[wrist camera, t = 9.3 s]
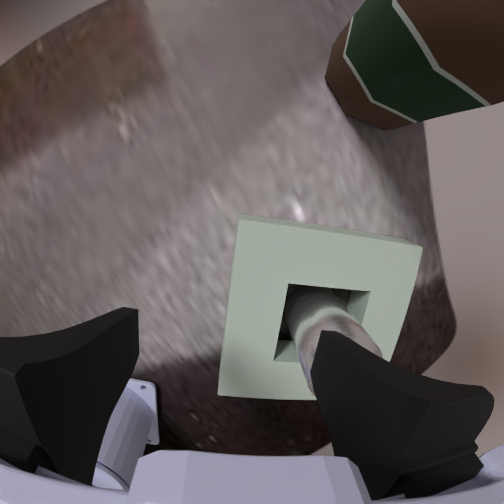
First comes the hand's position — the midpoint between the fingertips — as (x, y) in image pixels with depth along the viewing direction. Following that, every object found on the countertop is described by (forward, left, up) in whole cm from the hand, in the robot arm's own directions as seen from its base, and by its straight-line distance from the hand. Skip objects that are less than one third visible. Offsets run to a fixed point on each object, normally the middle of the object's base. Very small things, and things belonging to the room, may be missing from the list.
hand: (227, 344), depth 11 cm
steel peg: (+6, -2, -9) cm, 11 cm away
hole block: (+6, -2, -9) cm, 11 cm away
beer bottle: (+8, +15, -10) cm, 20 cm away
